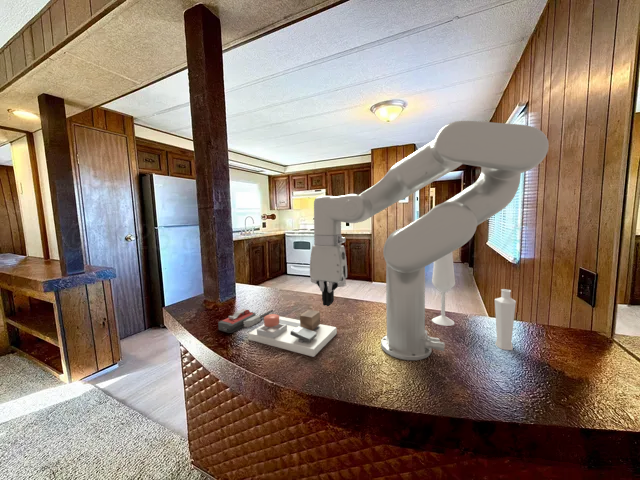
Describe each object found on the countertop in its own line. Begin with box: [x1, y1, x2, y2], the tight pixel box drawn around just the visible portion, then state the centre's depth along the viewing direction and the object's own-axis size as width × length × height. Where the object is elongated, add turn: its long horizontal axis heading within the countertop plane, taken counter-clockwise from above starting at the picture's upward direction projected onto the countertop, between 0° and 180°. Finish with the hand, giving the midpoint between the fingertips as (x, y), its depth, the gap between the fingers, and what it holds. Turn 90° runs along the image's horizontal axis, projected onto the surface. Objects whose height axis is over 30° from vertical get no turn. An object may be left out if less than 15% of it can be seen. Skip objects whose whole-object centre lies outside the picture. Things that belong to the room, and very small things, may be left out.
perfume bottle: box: [494, 288, 517, 351], centre depth 65 cm, size 5×4×15 cm
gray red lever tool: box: [217, 308, 274, 334], centre depth 88 cm, size 9×4×20 cm
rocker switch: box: [290, 326, 317, 342], centre depth 69 cm, size 6×4×1 cm, turn 62°
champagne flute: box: [431, 252, 456, 327], centre depth 81 cm, size 7×7×24 cm
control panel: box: [248, 315, 338, 357], centre depth 75 cm, size 22×14×4 cm, turn 62°
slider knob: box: [299, 309, 321, 331], centre depth 76 cm, size 4×5×4 cm
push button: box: [263, 313, 280, 327], centre depth 74 cm, size 4×4×2 cm
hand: (327, 304), depth 73 cm, fingers closed
